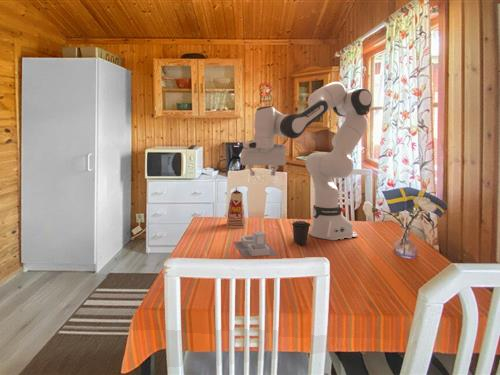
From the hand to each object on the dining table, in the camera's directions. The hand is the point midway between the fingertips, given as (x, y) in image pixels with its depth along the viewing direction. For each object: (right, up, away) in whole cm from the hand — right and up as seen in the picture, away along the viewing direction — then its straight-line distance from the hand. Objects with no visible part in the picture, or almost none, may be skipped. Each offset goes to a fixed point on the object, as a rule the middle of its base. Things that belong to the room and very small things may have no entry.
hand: (262, 175), depth 177 cm
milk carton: (-13, -25, +28) cm, 40 cm away
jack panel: (-4, -31, -11) cm, 33 cm away
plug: (-2, -31, -17) cm, 36 cm away
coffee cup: (+16, -30, -1) cm, 34 cm away
